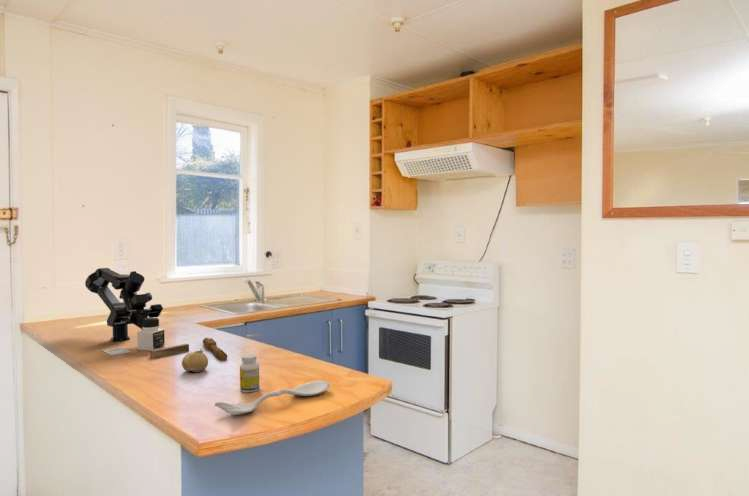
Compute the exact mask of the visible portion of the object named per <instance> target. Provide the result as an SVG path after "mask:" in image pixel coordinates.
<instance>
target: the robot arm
mask: <svg viewBox="0 0 749 496" xmlns="http://www.w3.org/2000/svg"><path fill="white" fill-rule="evenodd" d="M144 282H145V277H144V275H142V274H140V273H137V270H135V271H130V273H129V274H120V273H119V272H116V271H113V270H112V269H110V268H109V267H99V268H96V269H95V271H94V272H92V273H90V274H89V275H88V276H87V277H86V280H85V283H84V284H85V285H84V286H85V288H87V290H88V291H89V292H91V293H94V294H97V295H98V296H99V298H100V300H102V302H103V303H104V305H105V306H106V307H107V308H108V309H109V311H110V312H109V315H108V317H107V319H106V324H107V326H108V327H112V337H111V338H110V339H111V341H112V342H117V341H118V342H120V341H127V340H131V337H130V336H129V325H134V326H135V327H138V328H139V329H141V331H142V330H143V329H142V320H143V319H144V318H148V317H156V318H159V316H161V313H162V311H163V309H164V308H163V306H162V304H160V303H158V304H157V303H156V304H151V305H150V306H149V308H146V307H147V303H149V302H150V301H152V300H153V296H152V293H151V292H145V293H143V294H138V293H137V292H139V291H140V290H141V287H142V285H144ZM109 284H111V287H112V288H113V289H114V290H116V291H117V290H120V293H119V299H120V300H121V299H122V302H121V301H120V300H119V299H118V297H116V295H115V294H114V293H113V291H112V290H111V289H110V288H109V287H108V286H109Z"/></svg>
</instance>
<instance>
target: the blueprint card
mask: <svg viewBox="0 0 749 496" xmlns="http://www.w3.org/2000/svg"><path fill="white" fill-rule="evenodd" d="M102 351H103V352H104V353H106V354H108V355H109V356H117V355H123V354H128V353H131V351H130V350H128V349H127V348H124V347H116V348H111V349H104V350H103V349H102Z"/></svg>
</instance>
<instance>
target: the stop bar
mask: <svg viewBox="0 0 749 496" xmlns="http://www.w3.org/2000/svg"><path fill="white" fill-rule="evenodd" d="M185 352H190V344H188V343H182V344H177V345H171V346H166V347H162V348H160V349H156V350H151V351H149V353H150V354H149V356H150V358H151V359H157V358H161V357H166V356H171V355H175V354H180V353H185Z"/></svg>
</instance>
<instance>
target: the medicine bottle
mask: <svg viewBox="0 0 749 496" xmlns="http://www.w3.org/2000/svg"><path fill="white" fill-rule="evenodd" d="M142 329H143V330H142ZM142 329H141V330H138V331H137V332H136V341H137V342H136V343H137V344H136V346H137V347H136V350H137V351H147V352H148V351H149V352H150V351H151V350H156V349H161V348H165V346H166V345H165V329H164V328H160V318H159V317H149V316H148V317H147V318H144V319H143V320H142Z"/></svg>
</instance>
